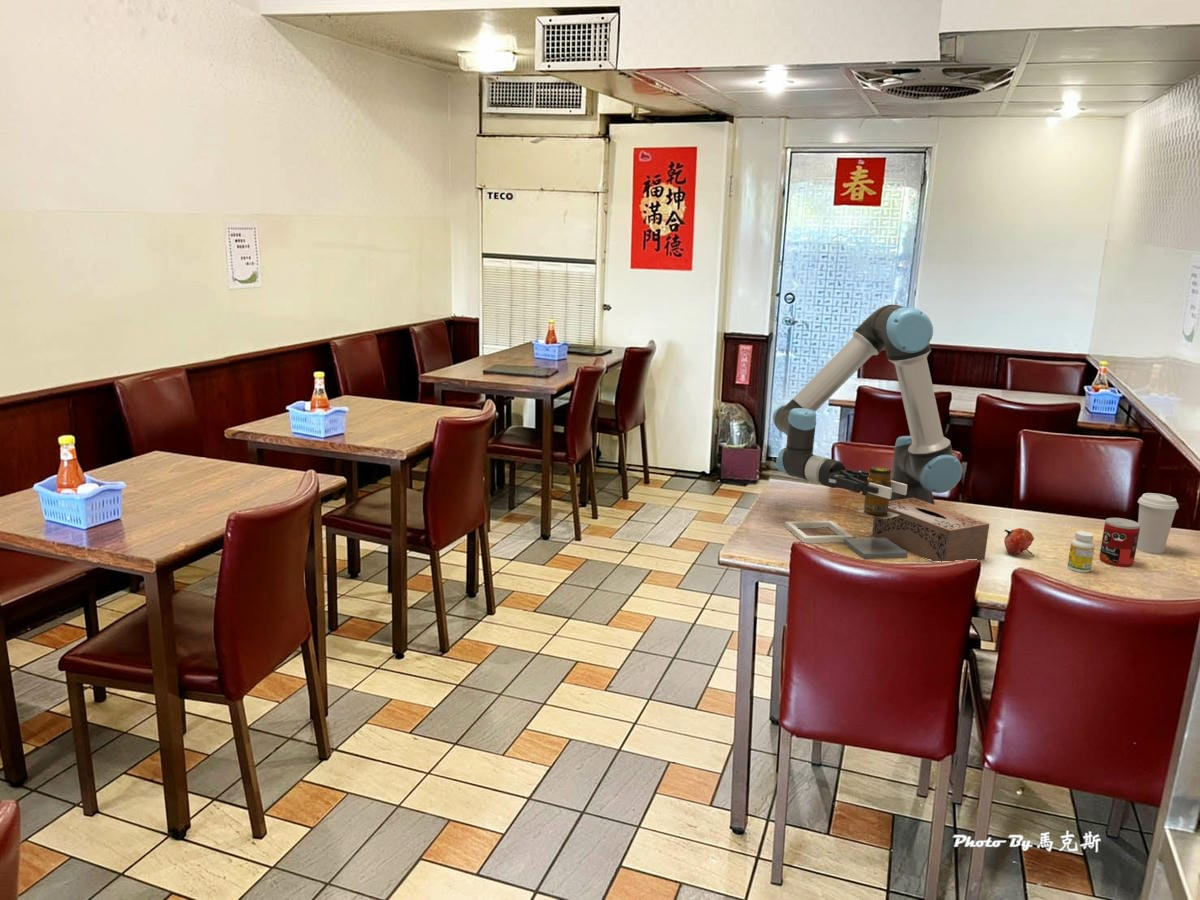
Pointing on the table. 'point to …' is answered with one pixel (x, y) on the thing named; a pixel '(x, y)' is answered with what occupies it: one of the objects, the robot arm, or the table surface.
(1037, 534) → the table surface
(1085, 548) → the supplement bottle
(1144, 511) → the coffee cup
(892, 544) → the charcoal tile
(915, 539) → the tissue box cover
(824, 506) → the table surface
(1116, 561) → the canned food
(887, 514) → the condiment
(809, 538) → the pocket holder
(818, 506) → the table surface
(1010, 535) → the pomegranate
